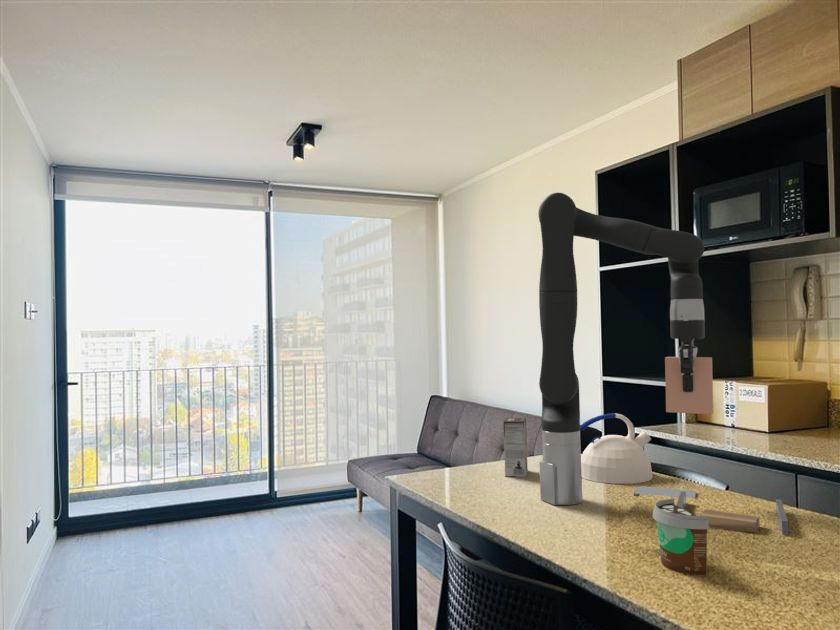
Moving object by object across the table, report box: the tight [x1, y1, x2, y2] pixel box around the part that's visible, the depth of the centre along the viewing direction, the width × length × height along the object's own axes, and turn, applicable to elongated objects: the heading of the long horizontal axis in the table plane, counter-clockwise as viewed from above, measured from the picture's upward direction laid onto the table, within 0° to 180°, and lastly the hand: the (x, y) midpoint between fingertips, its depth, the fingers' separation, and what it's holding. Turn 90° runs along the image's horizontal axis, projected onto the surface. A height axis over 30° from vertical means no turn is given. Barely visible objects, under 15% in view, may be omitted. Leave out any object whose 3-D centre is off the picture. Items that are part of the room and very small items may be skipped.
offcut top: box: [699, 508, 761, 534], centre depth 125 cm, size 5×10×2 cm, turn 55°
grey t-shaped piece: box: [633, 485, 697, 499], centre depth 156 cm, size 8×14×1 cm, turn 63°
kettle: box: [580, 412, 653, 485], centre depth 179 cm, size 20×21×18 cm
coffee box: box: [502, 417, 528, 478], centre depth 185 cm, size 9×6×16 cm
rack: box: [676, 491, 790, 537], centre depth 131 cm, size 18×20×4 cm
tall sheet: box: [664, 356, 714, 415], centre depth 147 cm, size 4×10×13 cm, turn 62°
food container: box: [652, 498, 710, 576], centre depth 108 cm, size 12×6×10 cm, turn 5°
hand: (688, 390), depth 147 cm, fingers closed on tall sheet, 4 cm apart
